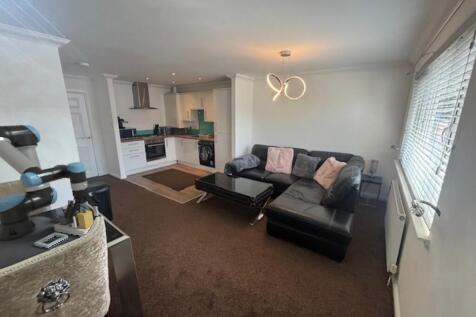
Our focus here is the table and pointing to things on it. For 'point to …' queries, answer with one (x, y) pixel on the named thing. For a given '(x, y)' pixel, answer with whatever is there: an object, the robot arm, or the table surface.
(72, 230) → the strip
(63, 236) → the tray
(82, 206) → the mug
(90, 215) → the plug
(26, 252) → the table surface
